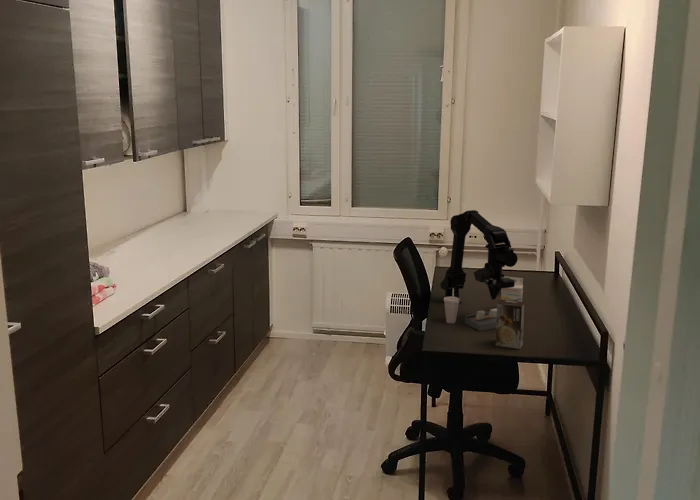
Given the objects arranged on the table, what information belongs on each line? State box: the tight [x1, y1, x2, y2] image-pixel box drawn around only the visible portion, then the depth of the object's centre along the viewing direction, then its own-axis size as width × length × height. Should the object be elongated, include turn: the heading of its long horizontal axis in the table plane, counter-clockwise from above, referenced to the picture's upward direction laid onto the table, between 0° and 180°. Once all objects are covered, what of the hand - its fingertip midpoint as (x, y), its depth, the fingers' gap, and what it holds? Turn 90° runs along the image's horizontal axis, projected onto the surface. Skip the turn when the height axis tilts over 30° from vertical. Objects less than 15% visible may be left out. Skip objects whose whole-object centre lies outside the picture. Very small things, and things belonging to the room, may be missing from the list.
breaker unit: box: [464, 311, 497, 332], centre depth 268 cm, size 10×19×3 cm, turn 114°
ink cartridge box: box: [500, 276, 524, 302], centre depth 280 cm, size 9×5×15 cm, turn 71°
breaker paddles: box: [475, 308, 497, 320], centre depth 267 cm, size 1×16×4 cm, turn 114°
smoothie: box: [443, 288, 461, 324], centre depth 269 cm, size 6×6×14 cm
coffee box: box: [495, 298, 526, 350], centre depth 244 cm, size 9×6×16 cm
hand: (493, 299), depth 266 cm, fingers closed
